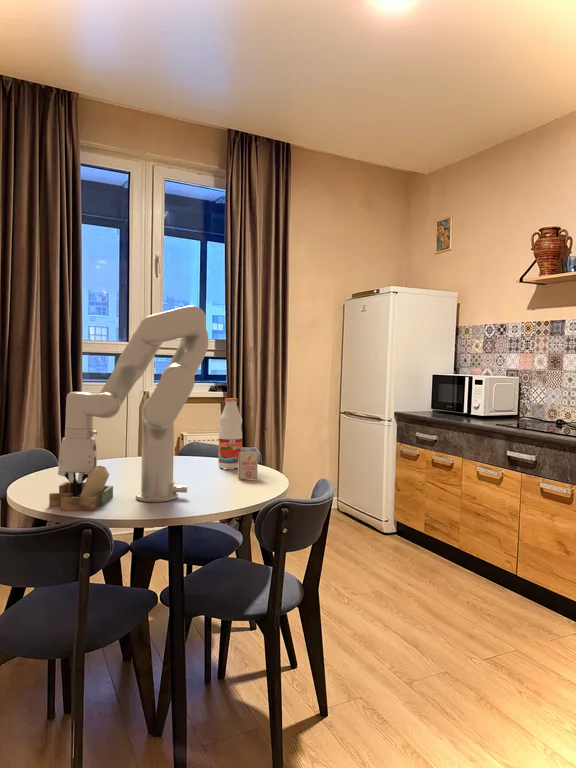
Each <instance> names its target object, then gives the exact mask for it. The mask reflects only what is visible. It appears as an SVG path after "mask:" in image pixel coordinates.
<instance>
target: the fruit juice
mask: <svg viewBox="0 0 576 768" xmlns="http://www.w3.org/2000/svg"><path fill="white" fill-rule="evenodd" d="M224 403H225V406H224V407H223V411H222V413H221V415H220V417H219V424H220V425H219V427H220V428H219V429H220V430H219V432H218V464H217V465H218V468H219V467H220V468H219V469H221V468H226V469H225V470H234V469H233V468H238V454H239V452H243V430H242V424H243V418H242V416H241V414H240V411H239V407H238V404H237V403H238V398H235V397H234V398H233V397H232V398H231V397H227V398H224Z"/></svg>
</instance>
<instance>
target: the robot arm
mask: <svg viewBox="0 0 576 768" xmlns="http://www.w3.org/2000/svg"><path fill="white" fill-rule="evenodd" d="M206 324H207V316H206V314H205V312H204V310H203V309H202V308H200V307H199V306H196V305H186V306H185V305H184V306H183V307H178V308H175V309H171V310H166V311H163V312H159V313H154V314H151V315H148V316H145V317H143V319H142V320H141V321H140V323H139V325H138V327H137V328H136V330H135V332H134V333H133V335H132V336H131V337H130V340H129V341H128V343H127V344H126V346H125V348H124V349H123V350H122V352H121V353H120V356H119V357H118V359H117V361H116V363H115V366H114V369H113V370H112V372H111V374H110V376H109V377H108V380H107V381H106V382H105V384H104V386H103V387H102V389H101V390H100V392H99V393H91V392H86V391H71V392H69V393H67V395H66V398H65V399H66V402H65V426H64V427H65V428H64V437H62V439H61V443H60V448H59V452H58V453H59V455H58V461H57V469H58V472H57V475H58V476H60V477H65V478H66V480H68V482H70V483H71V487H70V493H72V497H74V496H75V497H78V496H79V495H80V494H81V492H82V486H83V482H85V481H86V480H87V477H88V475H89V473H90V472H91V470H93V468H94V467H95V466H98V455H97V453H98V452H97V444H96V438H95V437H93V436H97V435H98V430H94V427H93V425H94V424H93V423H94V417H96V418H100V419H111V418H113V417H115V416H117V414H118V413H119V411H120V408H121V406H122V405H123V403H124V401H125V400H126V399H127V397H128V395H129V393H130V391H131V390H132V389H133V387H134V385H135V384H136V383H137V381H138V380H139V379H140V378H141V377H142V376H144V373H145V372H146V371H147V369H148V367H149V365H150V364H151V362H152V361H153V359H154V357H155V355H156V354H157V352H158V351H159V349H160V348H161V345H162V344H163V343H164V342H169V341H173V340H177V339H180V343H179V345H178V347H177V348H176V351H175V353H174V354H173V356H172V358H171V359H170V361H169V363H168V365H167V366H166V368H165V369H164V370H163V371H162V373H161V376H160V380H159V382H158V383H157V385H156V387H155V388H154V391H153V392H152V394H151V395H150V397H148V398H146V400H145V401H144V403H143V404H142V407H141V468H140V469H141V471H140V472H141V474H140V475H141V479H140V481H141V483H140V484H141V485H140V490H141V491H139V492H137V493H136V495H135V499H136V500H137V501H140V502H146V503H163V502H169V501H173V500H174V501H175V499H177V498H178V497H179V493H181V494H182V493H184V494H185V493H186V494H187V493H188V486H187V485H178V484H176V481H175V480H174V448H175V447H174V446H175V445H174V444H175V443H174V441H175V438H174V437H175V431H174V428H175V424H174V422H175V421H176V419H177V418H178V416H179V414H180V412H181V411H182V409H183V408H184V405H185V403H186V402H187V401H188V399H189V397H190V395H191V393H192V391H193V389H194V386H195V376H196V374H197V371H198V370H199V368H200V366H201V364H202V363H203V360H204V358H205V357H206V355H207V351H208V348H209V334H208V331H207V328H206ZM77 474H78V476H77Z"/></svg>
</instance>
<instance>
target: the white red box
mask: <svg viewBox="0 0 576 768" xmlns="http://www.w3.org/2000/svg"><path fill="white" fill-rule="evenodd" d="M238 479H257V480H258V451H242V452H239V454H238V469H237V480H238Z"/></svg>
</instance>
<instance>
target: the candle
mask: <svg viewBox="0 0 576 768" xmlns="http://www.w3.org/2000/svg"><path fill="white" fill-rule="evenodd" d="M109 476H110V473H109V471H108V469H107V468H106V467H105V466H103V465H97V466H95V467H94V468H93V470H91V472H90V473H89V475H88V477H87V478H86V479H85V481H84V482H85V485H84V487H83V490H82V492H81V495H80V496H81V497H90V498H92V497H93V496H94V495H95V494H97V493H101V492H103V489H104V487H105V486H106V484H107V481H108V479H109Z"/></svg>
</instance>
